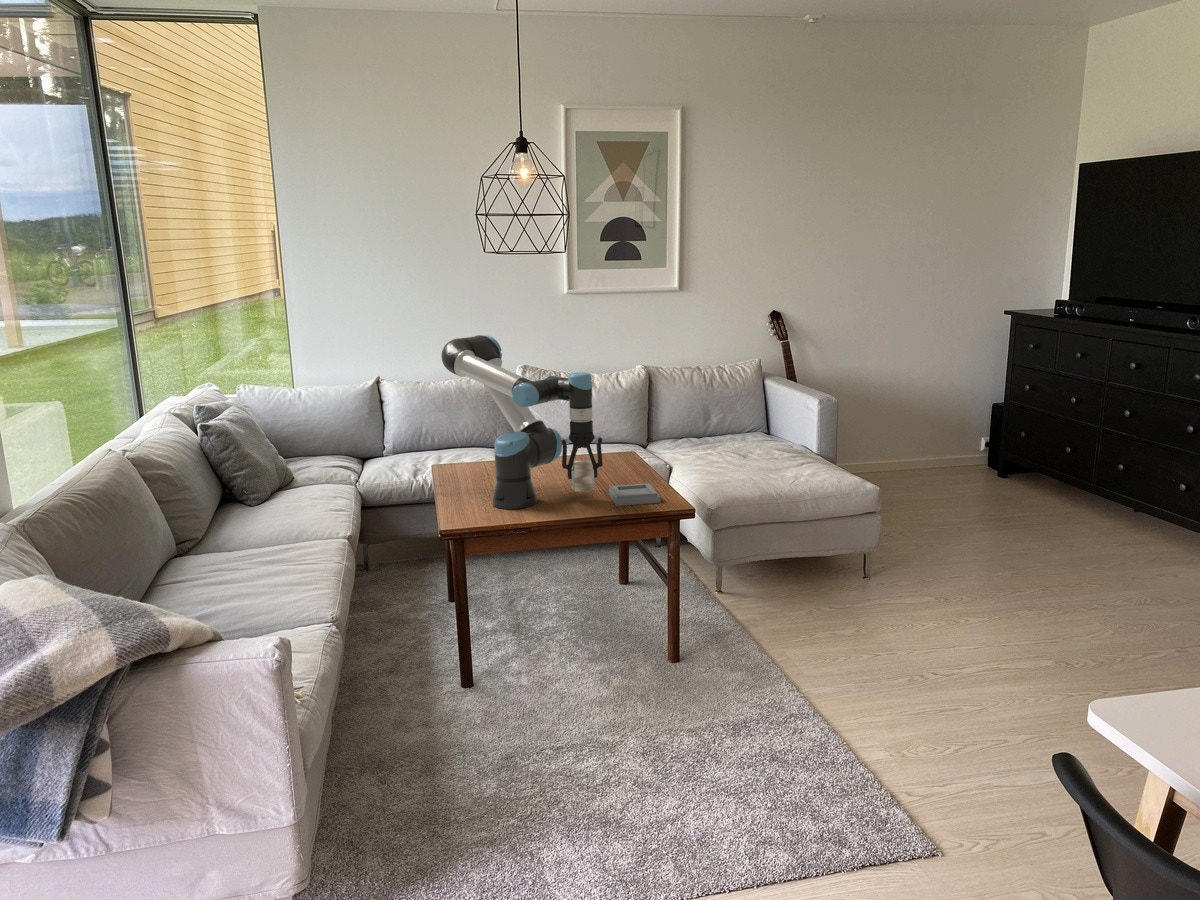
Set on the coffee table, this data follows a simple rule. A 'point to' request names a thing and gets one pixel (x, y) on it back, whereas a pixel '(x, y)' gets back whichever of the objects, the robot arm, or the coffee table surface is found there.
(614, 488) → the slate plinth
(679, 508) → the coffee table surface
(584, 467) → the birch block
